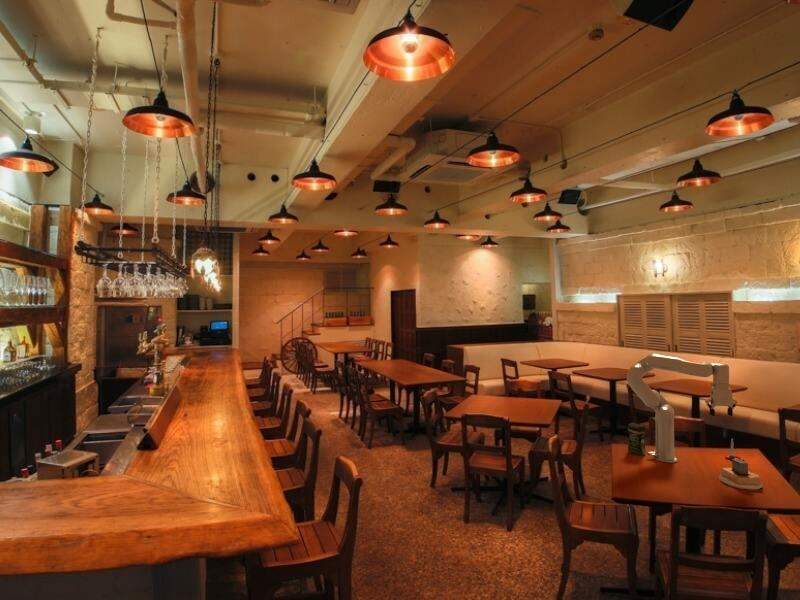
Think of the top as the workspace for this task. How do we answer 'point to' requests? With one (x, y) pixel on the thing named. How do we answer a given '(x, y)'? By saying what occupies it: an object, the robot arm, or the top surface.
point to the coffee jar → (636, 439)
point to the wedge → (739, 467)
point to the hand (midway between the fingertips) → (721, 415)
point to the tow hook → (732, 453)
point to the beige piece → (740, 479)
